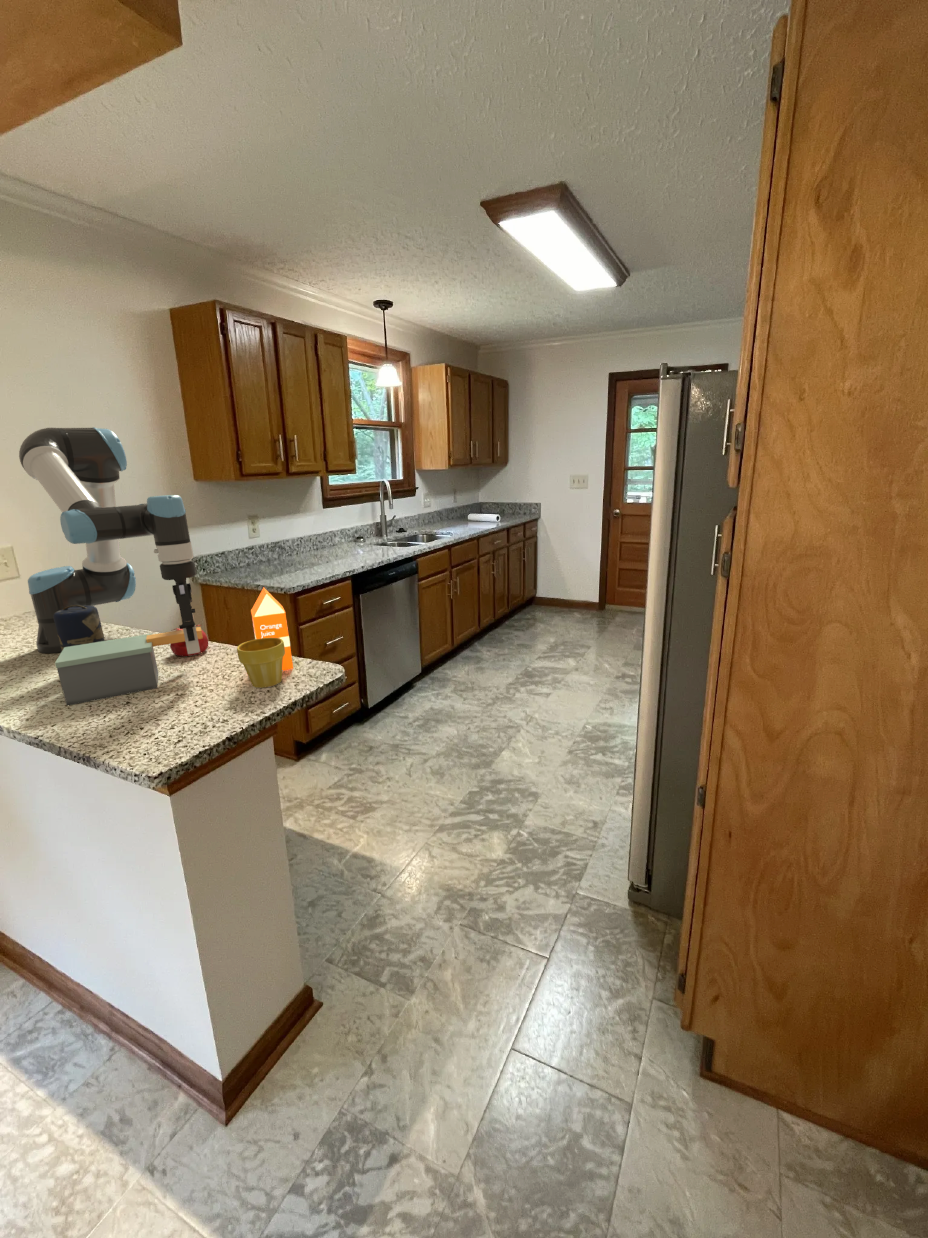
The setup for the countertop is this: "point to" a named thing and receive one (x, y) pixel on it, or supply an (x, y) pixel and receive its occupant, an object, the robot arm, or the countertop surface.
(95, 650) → the lid
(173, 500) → the robot arm
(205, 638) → the pomegranate
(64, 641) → the canister
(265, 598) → the orange juice
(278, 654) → the plant pot
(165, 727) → the countertop surface
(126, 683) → the tub
